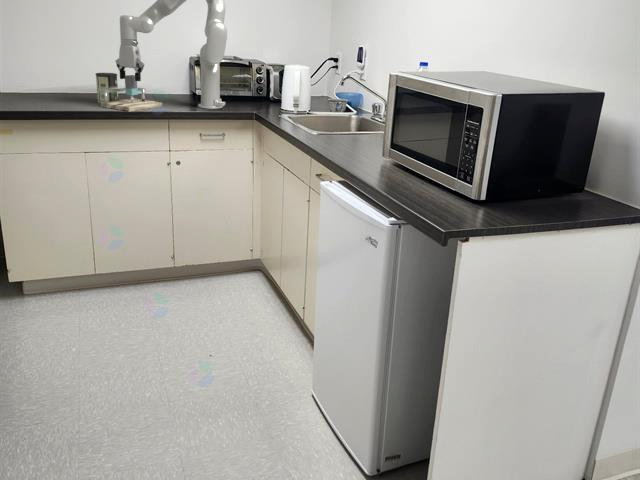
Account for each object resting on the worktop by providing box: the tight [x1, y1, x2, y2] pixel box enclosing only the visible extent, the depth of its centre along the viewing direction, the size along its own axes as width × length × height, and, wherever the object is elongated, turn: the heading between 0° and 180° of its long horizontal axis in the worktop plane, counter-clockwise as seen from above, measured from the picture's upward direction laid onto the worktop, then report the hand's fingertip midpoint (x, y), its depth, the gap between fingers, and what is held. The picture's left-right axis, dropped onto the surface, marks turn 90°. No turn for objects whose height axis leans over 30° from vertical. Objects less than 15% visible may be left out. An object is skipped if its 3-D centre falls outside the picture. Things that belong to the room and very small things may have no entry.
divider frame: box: [104, 86, 146, 103], centre depth 289 cm, size 8×20×6 cm, turn 153°
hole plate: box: [100, 97, 163, 113], centre depth 290 cm, size 18×23×2 cm
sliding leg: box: [124, 74, 139, 102], centre depth 287 cm, size 4×5×12 cm
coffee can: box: [95, 72, 120, 104], centre depth 297 cm, size 10×10×14 cm
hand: (130, 79), depth 286 cm, fingers open, 9 cm apart
